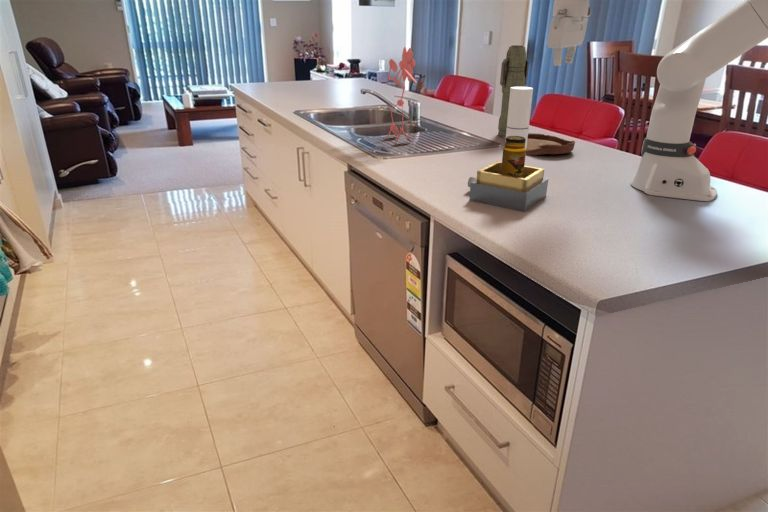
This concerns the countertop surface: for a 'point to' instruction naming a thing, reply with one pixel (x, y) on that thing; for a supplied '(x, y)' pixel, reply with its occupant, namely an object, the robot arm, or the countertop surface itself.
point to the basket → (547, 145)
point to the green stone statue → (512, 80)
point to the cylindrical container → (519, 112)
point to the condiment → (513, 156)
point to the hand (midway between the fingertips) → (562, 64)
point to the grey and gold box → (508, 187)
